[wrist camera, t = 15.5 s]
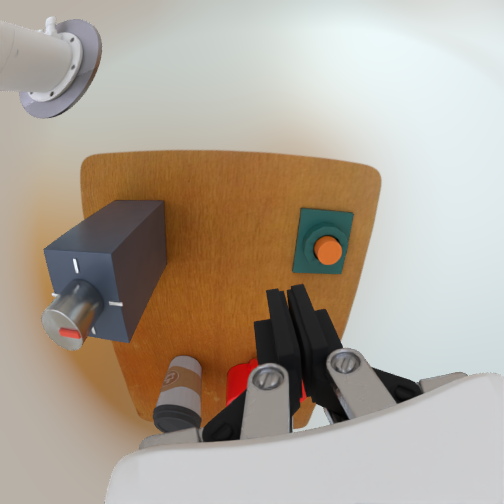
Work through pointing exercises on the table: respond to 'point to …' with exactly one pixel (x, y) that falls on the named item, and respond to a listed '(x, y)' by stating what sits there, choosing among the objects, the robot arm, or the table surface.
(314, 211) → the push button base
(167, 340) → the table surface
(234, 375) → the mug
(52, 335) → the dial
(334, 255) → the button
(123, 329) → the tall knob tower
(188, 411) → the coffee cup
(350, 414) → the robot arm
